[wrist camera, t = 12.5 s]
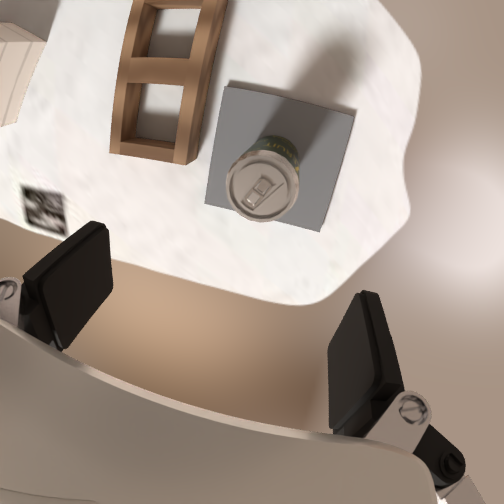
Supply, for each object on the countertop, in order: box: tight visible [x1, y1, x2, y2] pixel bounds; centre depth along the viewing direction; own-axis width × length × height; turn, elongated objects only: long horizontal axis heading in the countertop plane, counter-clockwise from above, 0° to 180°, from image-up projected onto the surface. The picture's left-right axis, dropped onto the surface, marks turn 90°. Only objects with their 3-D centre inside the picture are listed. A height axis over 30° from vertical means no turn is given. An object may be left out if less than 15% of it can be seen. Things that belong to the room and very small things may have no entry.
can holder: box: [109, 0, 228, 165], centre depth 26 cm, size 20×10×4 cm, turn 169°
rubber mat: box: [205, 86, 354, 232], centre depth 31 cm, size 14×14×1 cm
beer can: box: [226, 135, 299, 222], centre depth 25 cm, size 5×5×12 cm
